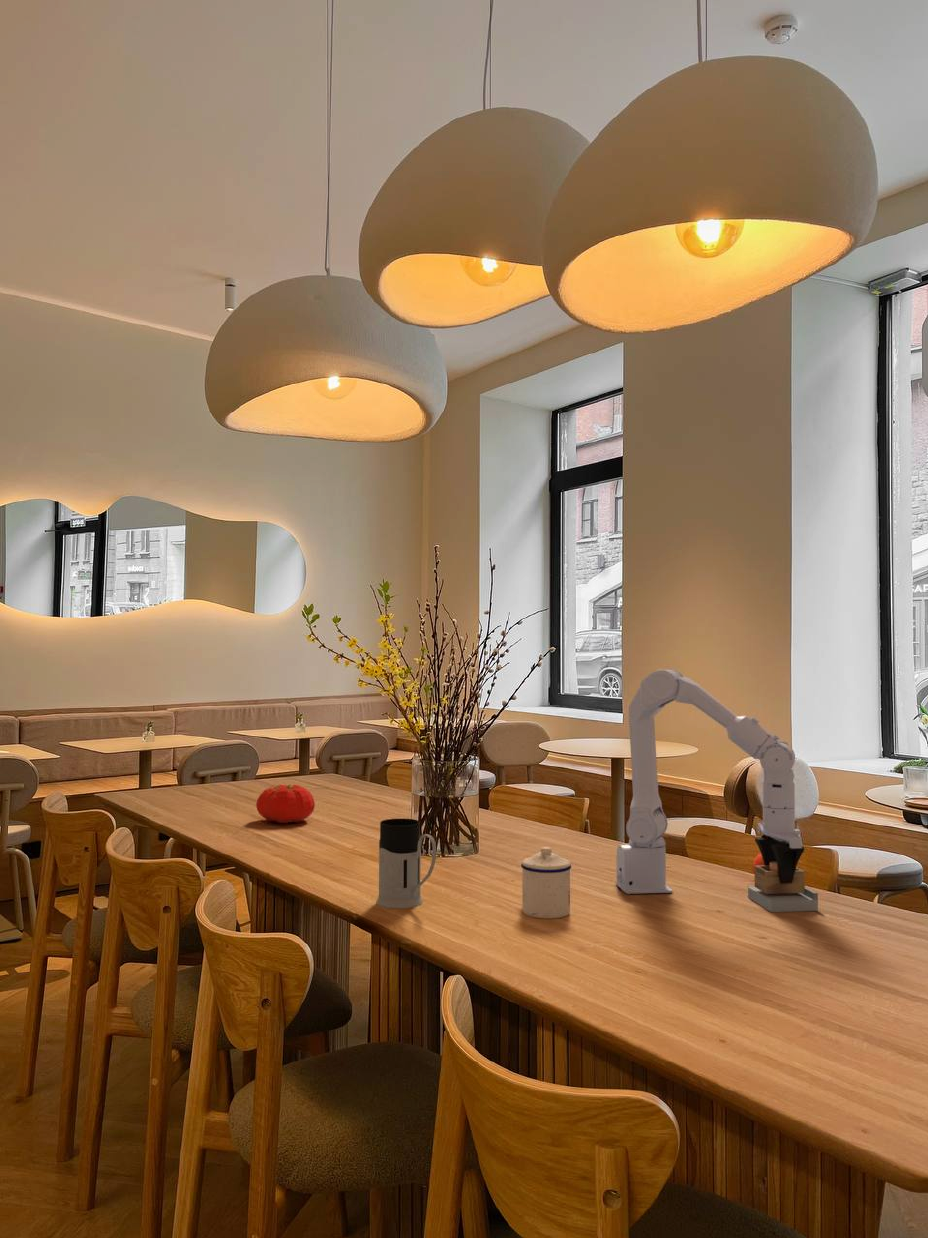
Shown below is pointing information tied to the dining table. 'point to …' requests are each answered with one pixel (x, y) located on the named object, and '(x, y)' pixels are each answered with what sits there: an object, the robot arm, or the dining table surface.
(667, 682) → the robot arm
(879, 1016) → the dining table surface
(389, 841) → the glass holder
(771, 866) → the ball
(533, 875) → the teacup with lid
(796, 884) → the open wooden crate
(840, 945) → the dining table surface
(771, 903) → the dock
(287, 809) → the tomato
